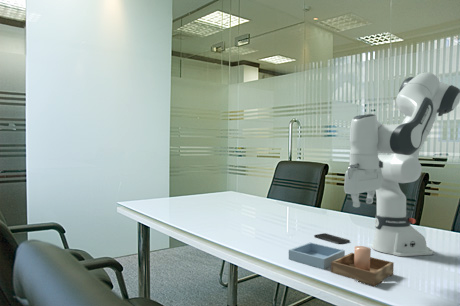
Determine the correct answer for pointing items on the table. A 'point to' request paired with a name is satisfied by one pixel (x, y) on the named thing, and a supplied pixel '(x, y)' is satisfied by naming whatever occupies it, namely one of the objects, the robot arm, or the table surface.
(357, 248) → the orange-tan rounded cylinder
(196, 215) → the table surface
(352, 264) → the tray
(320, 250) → the bin
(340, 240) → the phone
